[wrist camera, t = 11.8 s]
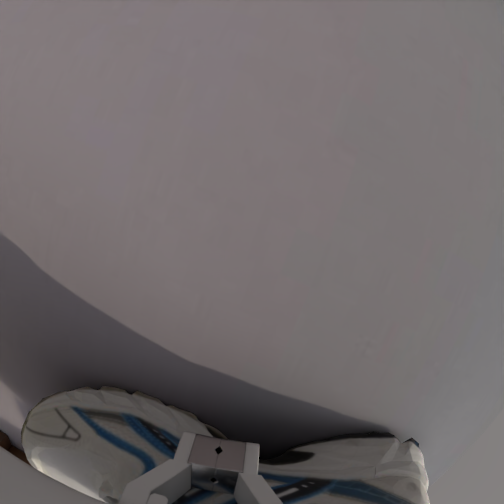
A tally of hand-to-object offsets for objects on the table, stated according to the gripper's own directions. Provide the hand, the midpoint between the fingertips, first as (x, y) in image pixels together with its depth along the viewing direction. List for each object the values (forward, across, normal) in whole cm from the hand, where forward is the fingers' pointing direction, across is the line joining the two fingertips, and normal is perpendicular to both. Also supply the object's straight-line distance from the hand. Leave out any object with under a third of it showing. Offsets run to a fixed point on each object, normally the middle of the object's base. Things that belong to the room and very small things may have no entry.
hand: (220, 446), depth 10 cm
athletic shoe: (+4, -1, +5) cm, 6 cm away
